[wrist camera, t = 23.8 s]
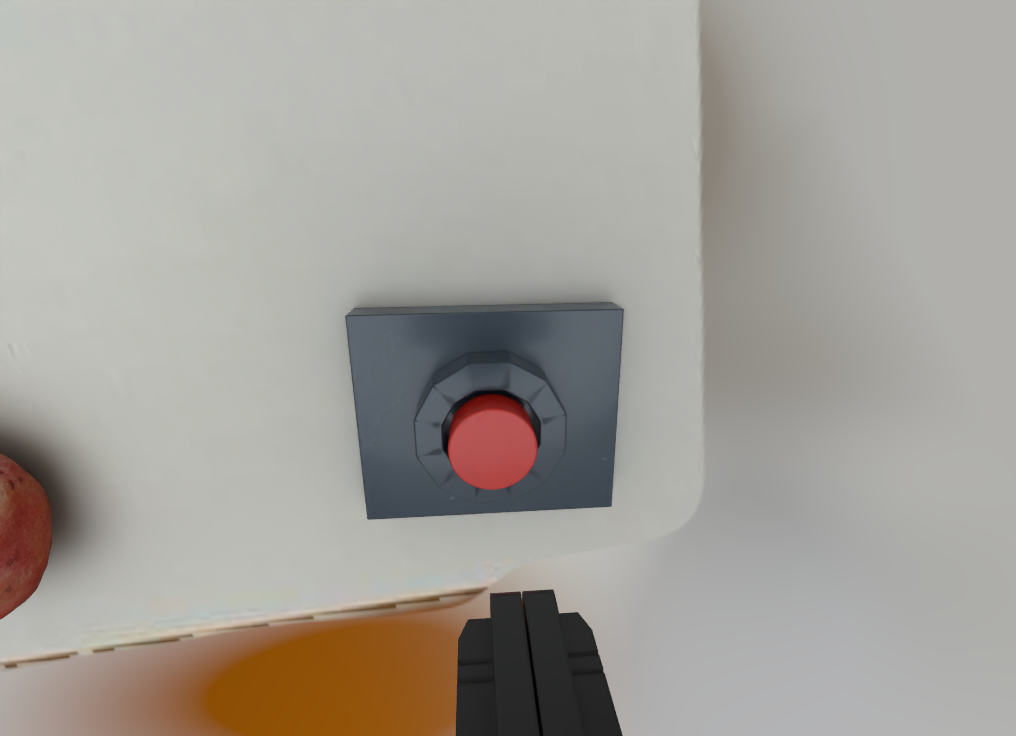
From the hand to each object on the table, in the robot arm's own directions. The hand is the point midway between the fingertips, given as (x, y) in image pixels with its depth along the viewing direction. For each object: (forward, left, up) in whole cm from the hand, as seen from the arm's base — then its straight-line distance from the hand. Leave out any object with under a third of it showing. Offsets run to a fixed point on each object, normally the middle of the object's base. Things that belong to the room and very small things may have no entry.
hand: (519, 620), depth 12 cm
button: (0, 0, -10) cm, 10 cm away
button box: (0, 0, -14) cm, 14 cm away
